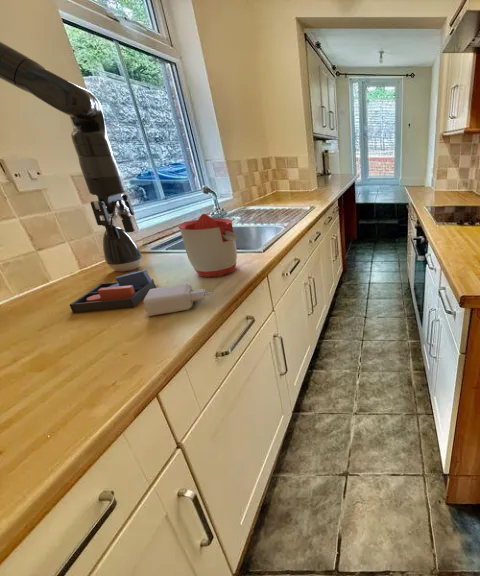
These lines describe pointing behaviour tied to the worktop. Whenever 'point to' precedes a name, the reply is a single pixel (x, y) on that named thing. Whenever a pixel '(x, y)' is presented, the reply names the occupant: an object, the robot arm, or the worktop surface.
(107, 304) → the cutlery tray
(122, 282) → the slate-blue spoon
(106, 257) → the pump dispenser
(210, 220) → the citrus juicer
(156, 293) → the charger
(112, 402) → the worktop surface
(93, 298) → the terracotta spoon
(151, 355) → the worktop surface
